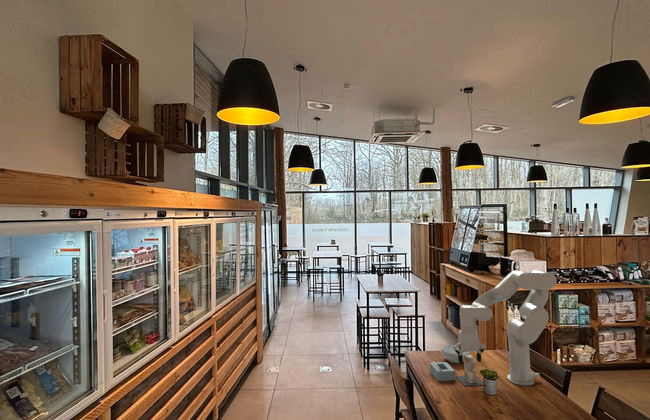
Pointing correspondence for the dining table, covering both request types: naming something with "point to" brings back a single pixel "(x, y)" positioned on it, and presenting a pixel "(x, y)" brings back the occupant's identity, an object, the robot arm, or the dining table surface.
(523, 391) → the dining table surface
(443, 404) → the dining table surface
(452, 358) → the cereal bowl
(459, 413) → the dining table surface
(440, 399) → the dining table surface
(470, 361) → the cream tall block
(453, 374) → the dispenser
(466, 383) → the mat
